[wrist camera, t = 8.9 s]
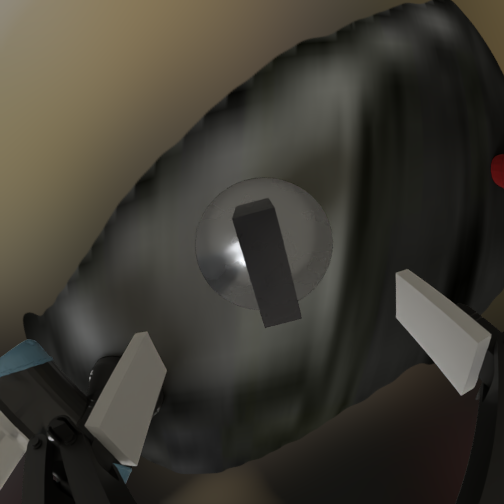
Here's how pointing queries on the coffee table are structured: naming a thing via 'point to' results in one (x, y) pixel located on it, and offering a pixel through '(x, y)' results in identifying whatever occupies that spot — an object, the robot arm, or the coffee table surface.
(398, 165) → the coffee table surface
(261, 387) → the coffee table surface
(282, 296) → the steel lid
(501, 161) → the plastic cup
